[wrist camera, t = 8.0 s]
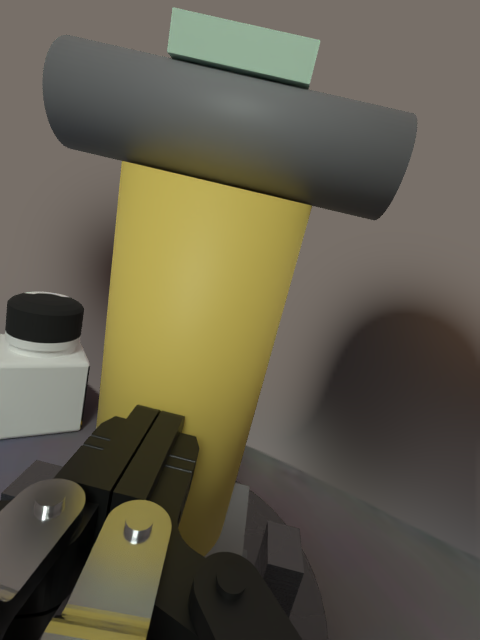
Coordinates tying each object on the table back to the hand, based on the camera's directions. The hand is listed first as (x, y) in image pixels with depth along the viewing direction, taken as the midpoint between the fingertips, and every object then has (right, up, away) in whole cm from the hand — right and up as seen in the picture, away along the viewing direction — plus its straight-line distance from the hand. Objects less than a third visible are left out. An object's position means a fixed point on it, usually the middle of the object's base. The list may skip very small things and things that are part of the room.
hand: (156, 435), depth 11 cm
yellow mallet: (-2, -7, +6) cm, 10 cm away
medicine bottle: (-17, -6, +23) cm, 30 cm away
